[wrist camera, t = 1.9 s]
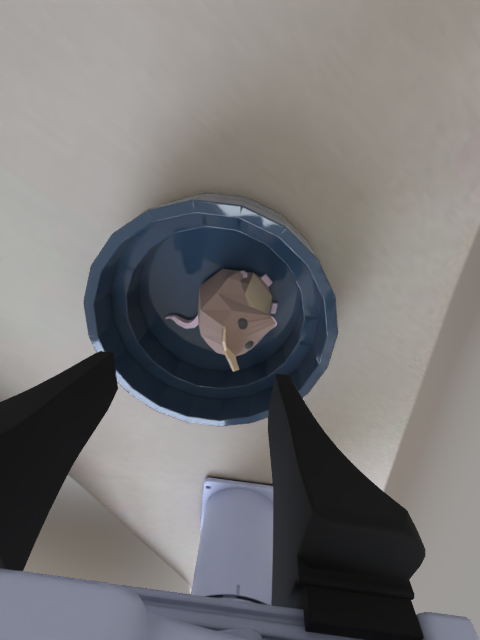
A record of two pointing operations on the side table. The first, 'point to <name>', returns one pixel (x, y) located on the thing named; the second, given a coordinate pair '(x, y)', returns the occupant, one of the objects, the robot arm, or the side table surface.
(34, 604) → the robot arm
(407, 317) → the side table surface
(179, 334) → the bowl
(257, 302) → the mouse figurine
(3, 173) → the side table surface
